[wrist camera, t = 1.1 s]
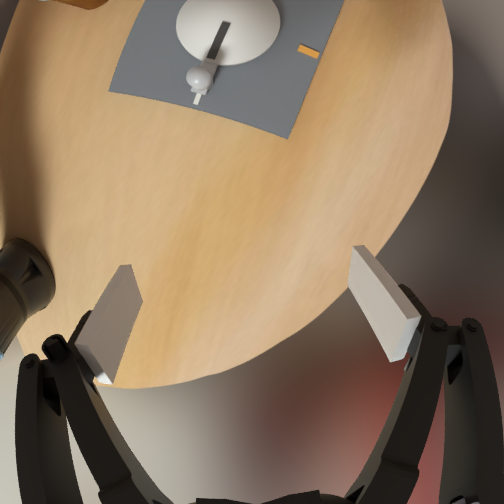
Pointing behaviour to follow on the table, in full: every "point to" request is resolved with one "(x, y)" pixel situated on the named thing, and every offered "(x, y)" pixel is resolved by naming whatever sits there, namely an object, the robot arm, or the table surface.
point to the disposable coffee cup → (83, 3)
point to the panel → (229, 77)
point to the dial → (225, 35)
